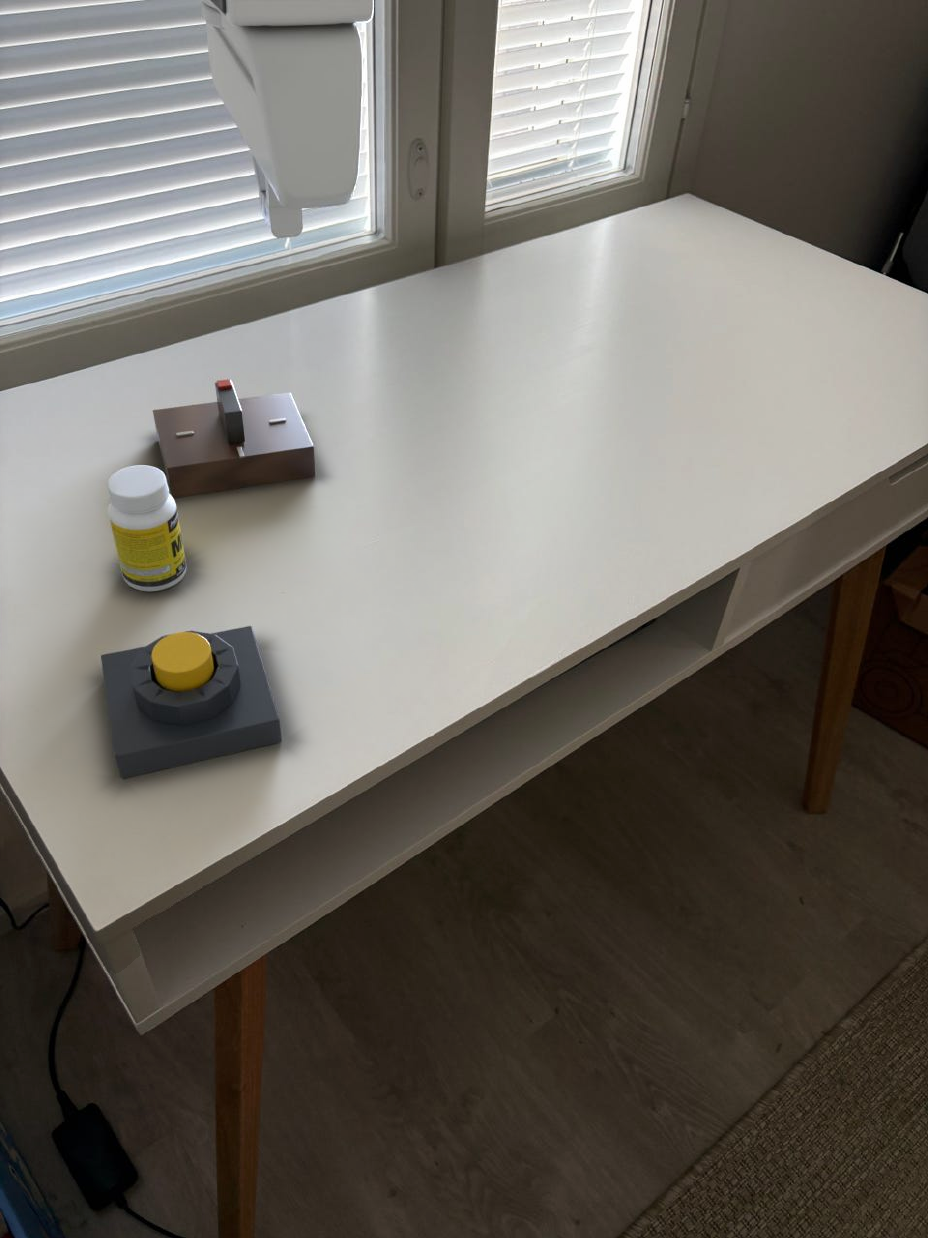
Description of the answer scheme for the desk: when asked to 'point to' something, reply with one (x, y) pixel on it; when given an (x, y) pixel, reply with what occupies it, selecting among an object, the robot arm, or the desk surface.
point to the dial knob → (230, 411)
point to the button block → (189, 706)
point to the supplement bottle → (146, 528)
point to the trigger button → (182, 661)
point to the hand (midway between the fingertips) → (281, 227)
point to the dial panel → (233, 446)
